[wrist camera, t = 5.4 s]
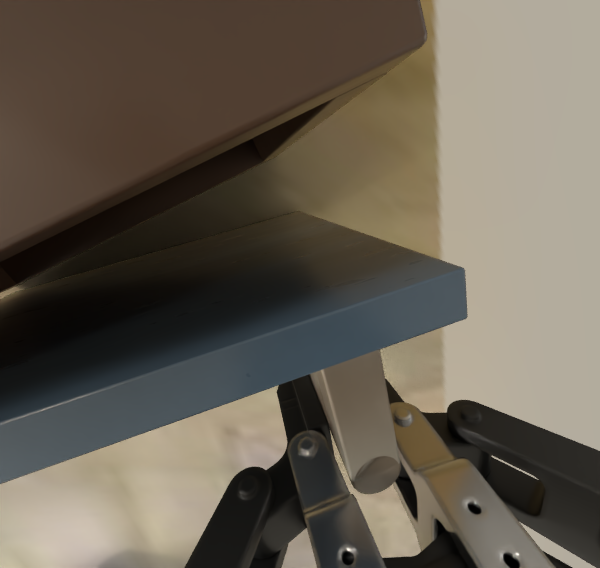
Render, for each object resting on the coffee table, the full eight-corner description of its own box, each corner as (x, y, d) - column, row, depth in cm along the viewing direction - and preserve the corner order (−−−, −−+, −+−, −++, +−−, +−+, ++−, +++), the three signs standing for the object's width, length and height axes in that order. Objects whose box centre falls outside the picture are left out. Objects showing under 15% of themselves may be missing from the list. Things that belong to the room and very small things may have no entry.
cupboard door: (321, 302, 20) (478, 505, 7) (75, 382, 18) (-308, 851, 5) (298, 210, 18) (466, 267, 5) (16, 291, 16) (-870, 712, 3)
